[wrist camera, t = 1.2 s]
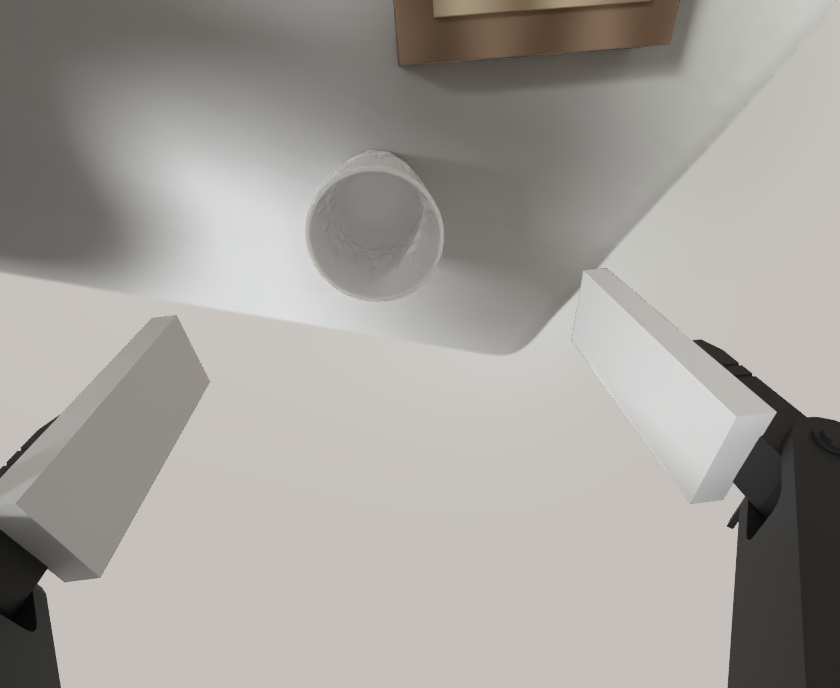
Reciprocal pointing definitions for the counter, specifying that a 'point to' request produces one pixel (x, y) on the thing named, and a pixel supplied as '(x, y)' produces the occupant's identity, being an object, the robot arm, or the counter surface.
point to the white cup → (375, 228)
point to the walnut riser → (526, 27)
